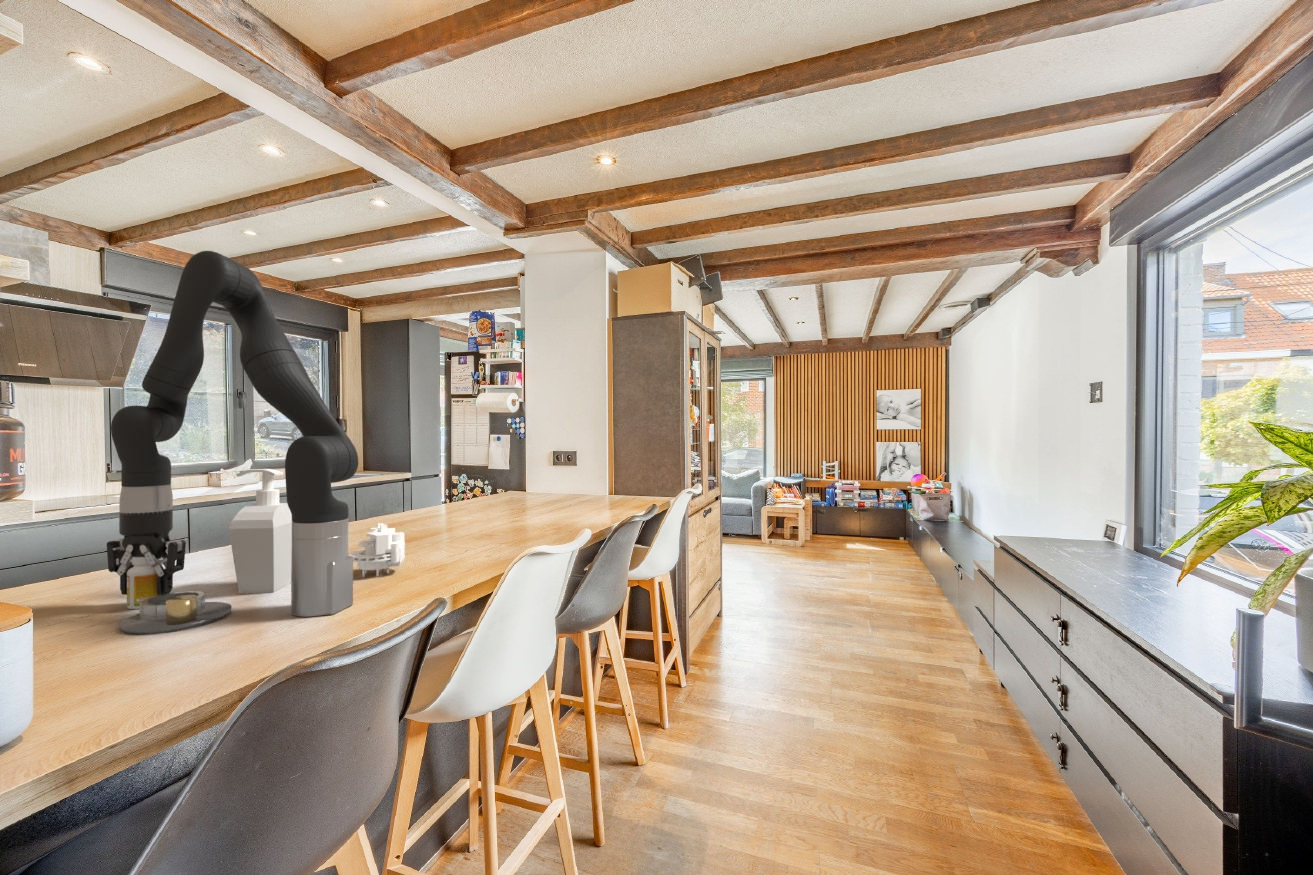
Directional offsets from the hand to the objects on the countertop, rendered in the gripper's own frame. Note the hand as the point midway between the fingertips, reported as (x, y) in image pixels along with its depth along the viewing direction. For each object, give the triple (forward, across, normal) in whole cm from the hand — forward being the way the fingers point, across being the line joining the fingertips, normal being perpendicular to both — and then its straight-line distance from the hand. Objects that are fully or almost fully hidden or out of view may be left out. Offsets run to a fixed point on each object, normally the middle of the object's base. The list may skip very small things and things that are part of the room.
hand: (146, 593), depth 104 cm
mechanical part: (+2, -31, -26) cm, 41 cm away
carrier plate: (+2, -14, +7) cm, 15 cm away
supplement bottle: (+2, 0, 0) cm, 2 cm away
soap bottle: (+2, -13, -13) cm, 19 cm away
